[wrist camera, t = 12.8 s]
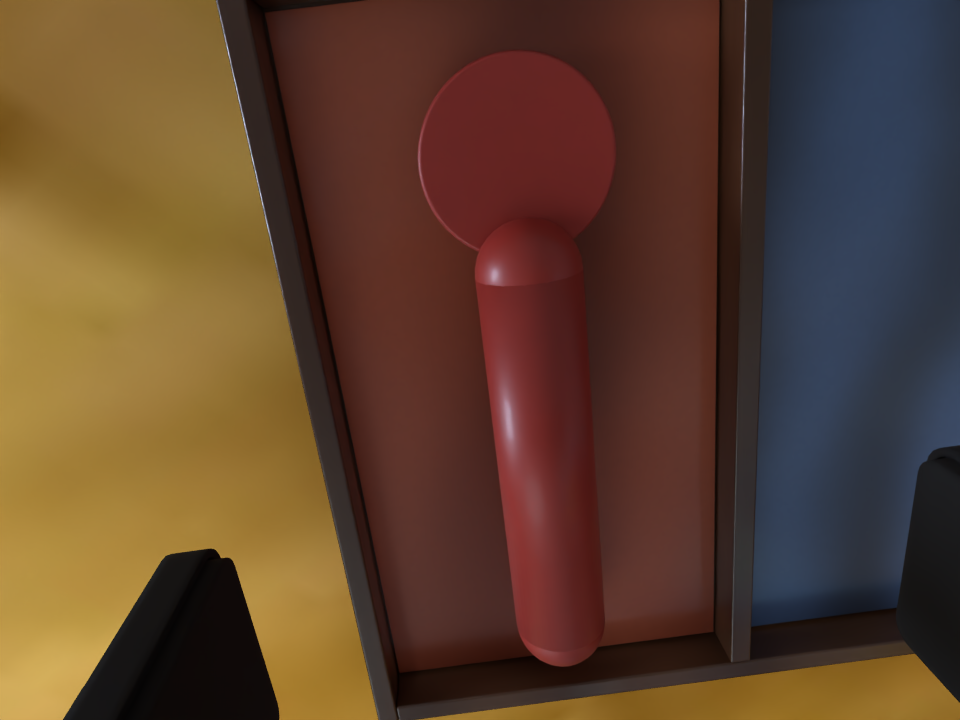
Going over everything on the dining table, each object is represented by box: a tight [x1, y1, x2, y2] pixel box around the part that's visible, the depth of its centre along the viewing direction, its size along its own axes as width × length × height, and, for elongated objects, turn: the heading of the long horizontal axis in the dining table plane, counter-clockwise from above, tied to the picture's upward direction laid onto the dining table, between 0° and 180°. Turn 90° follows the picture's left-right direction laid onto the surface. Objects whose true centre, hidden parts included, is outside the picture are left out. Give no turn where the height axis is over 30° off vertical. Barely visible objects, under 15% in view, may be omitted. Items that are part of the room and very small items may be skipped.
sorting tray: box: [216, 0, 960, 720], centre depth 17 cm, size 22×20×2 cm
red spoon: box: [417, 49, 616, 667], centre depth 16 cm, size 16×4×2 cm, turn 7°
